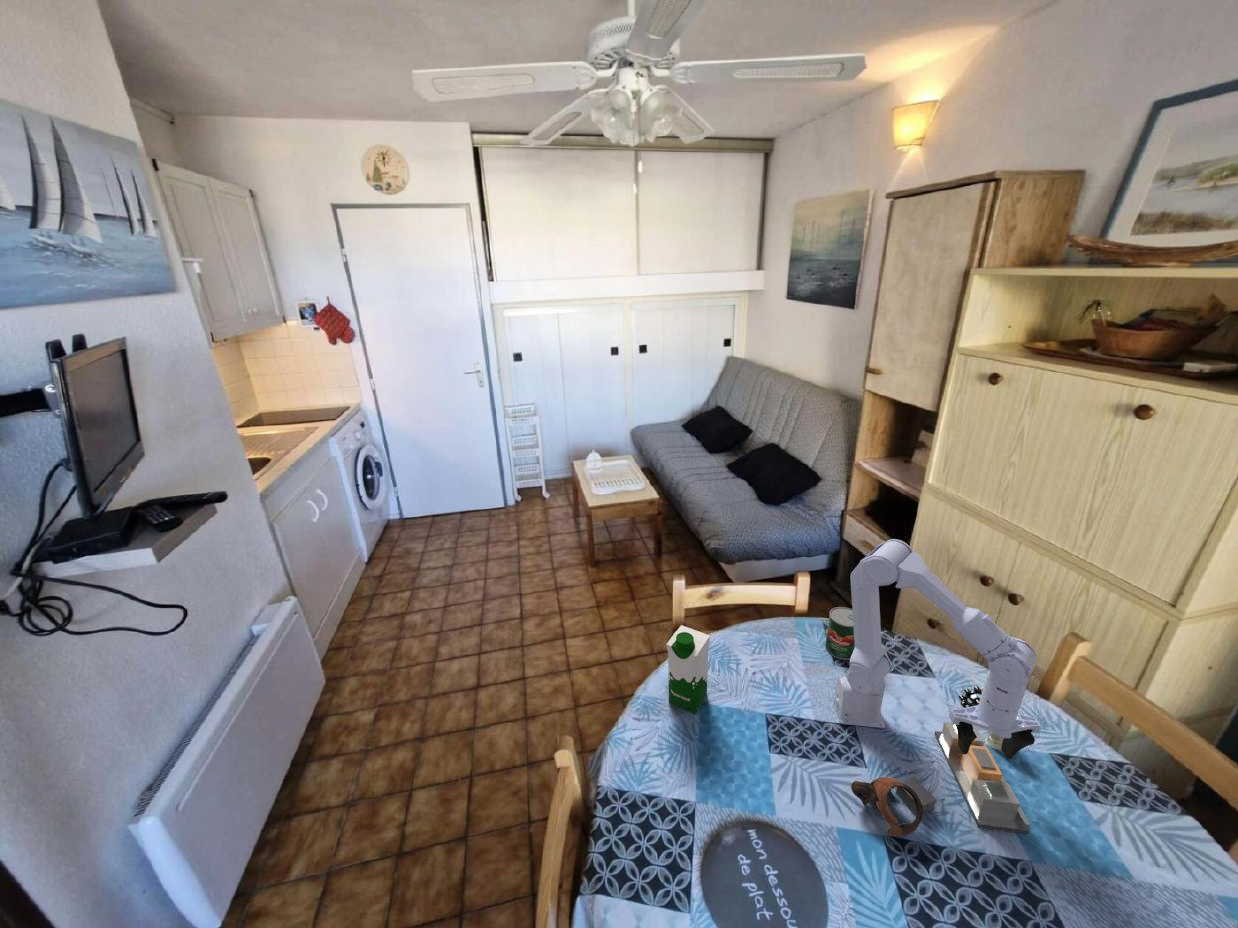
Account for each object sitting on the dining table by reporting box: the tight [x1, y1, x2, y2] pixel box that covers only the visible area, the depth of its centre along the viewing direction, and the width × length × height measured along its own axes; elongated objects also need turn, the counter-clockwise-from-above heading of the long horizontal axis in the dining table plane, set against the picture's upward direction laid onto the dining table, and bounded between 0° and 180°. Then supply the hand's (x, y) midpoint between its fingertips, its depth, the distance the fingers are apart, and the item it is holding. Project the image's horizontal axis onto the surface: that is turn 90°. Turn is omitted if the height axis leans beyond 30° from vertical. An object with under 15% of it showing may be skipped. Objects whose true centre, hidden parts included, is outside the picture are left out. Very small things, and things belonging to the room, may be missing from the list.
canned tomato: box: [824, 606, 855, 661], centre depth 134 cm, size 8×8×11 cm
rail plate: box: [934, 721, 1031, 835], centre depth 100 cm, size 8×20×6 cm, turn 170°
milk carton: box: [666, 624, 711, 715], centre depth 120 cm, size 9×9×20 cm
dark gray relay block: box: [895, 776, 937, 817], centre depth 97 cm, size 4×5×3 cm
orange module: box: [960, 745, 1004, 785], centre depth 100 cm, size 4×6×5 cm, turn 170°
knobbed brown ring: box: [850, 776, 924, 837], centre depth 95 cm, size 12×10×8 cm
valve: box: [958, 685, 1004, 753], centre depth 111 cm, size 7×7×12 cm
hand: (983, 751), depth 98 cm, fingers open, 7 cm apart
